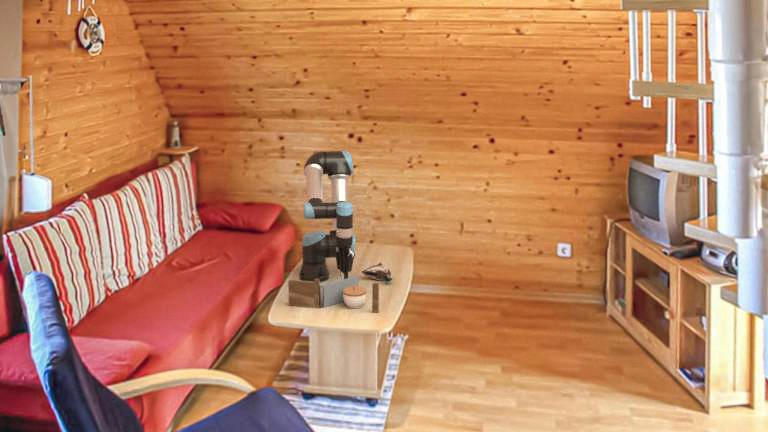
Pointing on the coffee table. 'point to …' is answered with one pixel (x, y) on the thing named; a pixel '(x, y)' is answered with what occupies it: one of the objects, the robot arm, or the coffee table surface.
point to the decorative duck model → (378, 272)
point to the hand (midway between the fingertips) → (344, 284)
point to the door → (335, 291)
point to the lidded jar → (354, 296)
